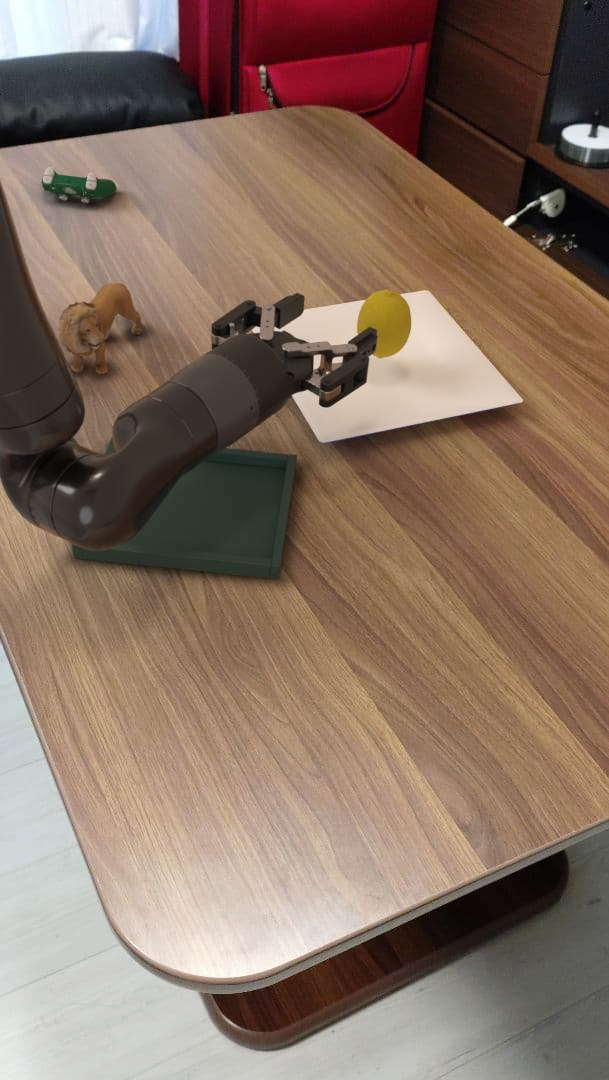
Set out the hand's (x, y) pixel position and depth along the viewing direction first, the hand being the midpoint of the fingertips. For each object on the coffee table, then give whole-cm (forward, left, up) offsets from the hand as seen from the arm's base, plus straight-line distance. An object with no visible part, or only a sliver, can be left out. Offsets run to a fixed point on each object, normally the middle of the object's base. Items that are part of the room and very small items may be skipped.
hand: (336, 319), depth 92 cm
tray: (-11, -17, -11) cm, 23 cm away
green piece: (-36, +40, -11) cm, 55 cm away
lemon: (+5, +7, -9) cm, 12 cm away
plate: (+5, +7, -11) cm, 14 cm away
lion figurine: (-24, +5, -11) cm, 27 cm away
